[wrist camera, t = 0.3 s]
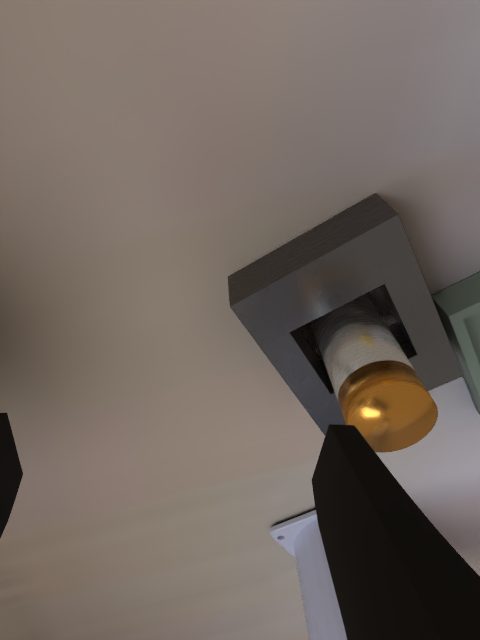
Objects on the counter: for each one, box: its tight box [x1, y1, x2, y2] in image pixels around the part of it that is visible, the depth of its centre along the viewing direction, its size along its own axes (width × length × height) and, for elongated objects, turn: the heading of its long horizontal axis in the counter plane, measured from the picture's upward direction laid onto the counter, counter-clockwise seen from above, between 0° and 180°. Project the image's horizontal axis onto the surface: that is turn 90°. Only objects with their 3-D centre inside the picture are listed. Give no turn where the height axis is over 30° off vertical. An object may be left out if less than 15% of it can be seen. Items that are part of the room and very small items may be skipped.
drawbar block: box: [228, 193, 463, 435], centre depth 19 cm, size 9×7×2 cm
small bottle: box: [310, 293, 438, 452], centre depth 17 cm, size 3×3×7 cm
